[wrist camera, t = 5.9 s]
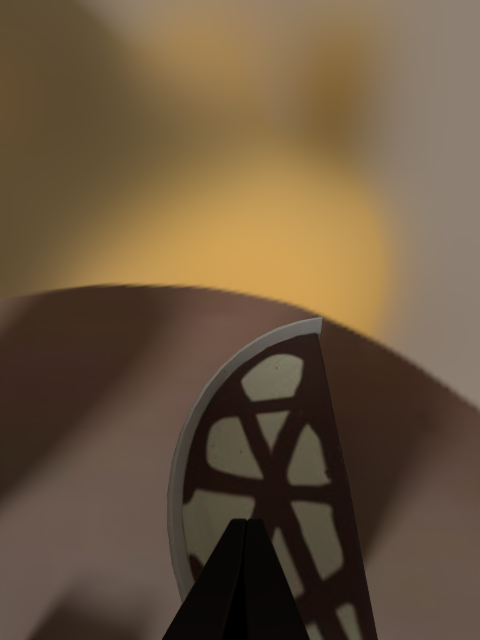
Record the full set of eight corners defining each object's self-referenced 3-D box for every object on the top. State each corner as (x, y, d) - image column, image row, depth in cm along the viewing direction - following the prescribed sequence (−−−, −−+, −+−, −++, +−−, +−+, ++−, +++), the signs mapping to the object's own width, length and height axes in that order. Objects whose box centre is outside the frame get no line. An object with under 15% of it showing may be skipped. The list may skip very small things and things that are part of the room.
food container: (214, 396, 21) (166, 321, 13) (306, 388, 21) (319, 304, 12) (215, 651, 15) (120, 841, 6) (348, 649, 14) (437, 855, 6)
